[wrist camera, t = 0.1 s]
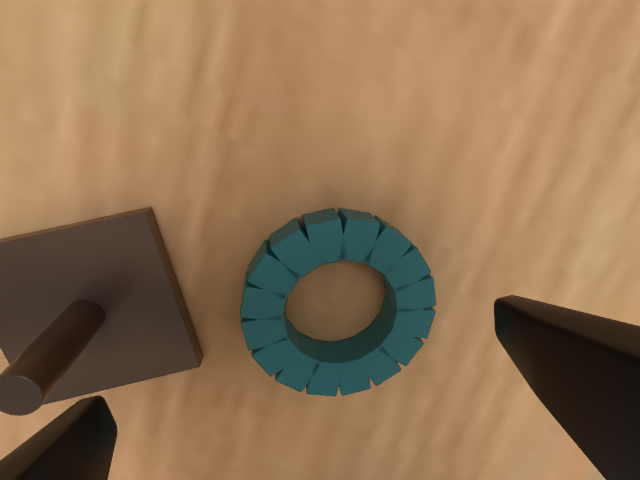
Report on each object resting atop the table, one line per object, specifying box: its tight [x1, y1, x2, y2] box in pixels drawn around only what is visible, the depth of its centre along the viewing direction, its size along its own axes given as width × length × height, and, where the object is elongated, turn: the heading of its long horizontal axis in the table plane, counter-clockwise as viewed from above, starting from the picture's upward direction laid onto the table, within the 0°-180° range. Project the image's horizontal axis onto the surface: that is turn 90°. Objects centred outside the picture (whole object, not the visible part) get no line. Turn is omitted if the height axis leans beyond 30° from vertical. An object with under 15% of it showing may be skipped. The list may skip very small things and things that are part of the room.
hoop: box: [240, 208, 436, 396], centre depth 24 cm, size 11×11×2 cm
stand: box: [0, 207, 203, 416], centre depth 19 cm, size 10×10×8 cm
